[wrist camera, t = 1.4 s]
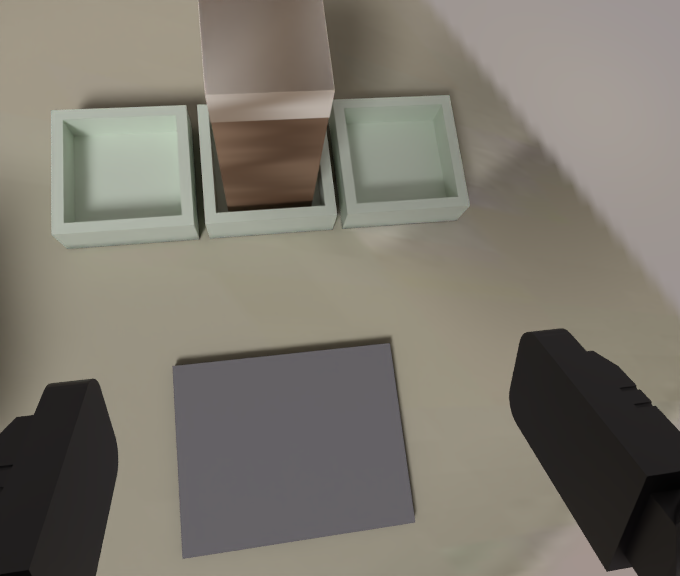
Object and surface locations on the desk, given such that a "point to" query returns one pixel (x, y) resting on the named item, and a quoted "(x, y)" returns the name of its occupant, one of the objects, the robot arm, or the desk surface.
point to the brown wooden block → (267, 97)
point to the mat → (289, 448)
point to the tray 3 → (397, 161)
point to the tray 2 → (260, 220)
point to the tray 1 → (122, 176)
